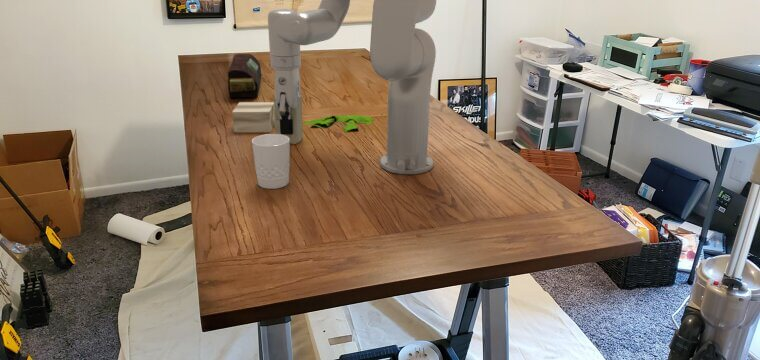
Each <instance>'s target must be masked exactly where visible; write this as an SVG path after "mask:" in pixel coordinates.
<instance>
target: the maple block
mask: <svg viewBox="0 0 760 360" xmlns="http://www.w3.org/2000/svg"><path fill="white" fill-rule="evenodd" d="M231 112H232V114H231V115H232V124H233V133H271V132H272V130H273V128H274V127H275V113H274V101H266V102H265V101H259V102H258V101H239V102H238V104H237V105H236V106H235V107H234V108H233V110H232V111H231Z"/></svg>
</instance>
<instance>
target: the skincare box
mask: <svg viewBox="0 0 760 360" xmlns="http://www.w3.org/2000/svg"><path fill="white" fill-rule="evenodd" d="M273 102H274V113H275V124H274V134H281V133H280V112H279V109H280V108H277V106H276V99H275V95H274V96H273ZM279 104H280V102H279ZM286 107H289V105H286ZM286 111H287V112H288V110H286ZM291 119H293V134H292V135H287V134H281V135H285V136H287V137H289V139H290V145H291V144H293V145H297V144H298V143H299V142H301V141H302V140H303V139H304V138H303V124H302V123H303V95H302V94H301V95H299V96H298V98H297V107H296V108H295V109H293V108H291Z"/></svg>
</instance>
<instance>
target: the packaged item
mask: <svg viewBox="0 0 760 360" xmlns="http://www.w3.org/2000/svg"><path fill="white" fill-rule="evenodd" d="M261 79H262V69H261V64H260V62H259V60H258V59H257V58H256V57H255V56H254V55H253V54H251V53H237V54H234V55H233V57H232V60H231V63H230V66H229V68H228V72H227V80H228V81H227V82H228V83H227V85H228V90H227V91H228V95H229V98H230V99H232V98H233V99H237V98H241V99H242V98H243V99H245V98H256V97H258V96H259V90H260V83H261Z"/></svg>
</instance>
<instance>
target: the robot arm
mask: <svg viewBox="0 0 760 360" xmlns="http://www.w3.org/2000/svg"><path fill="white" fill-rule="evenodd" d="M350 3H351V0H321V1H320V3H319V6H318V8H317V9H312V10H306V11H301V12H297V11H295V10H293V9H287V8H286V9H284V8H282V9H280V8H279V9H273V10H271V11H269V12H268V14H267V27H268V28H267V29H268V30H267V31H268V43H269V45H268V46H269V59H270V60H269V61H270V68H271V69H272V70H274V96H275V99H276V106H277V108H280V109H279V112H280V133H281V134H287V135H292V134H293V119H291V108H293V109H295V108H296V107H297V98H298V96H299V95H302V91H301V89H302V88H301V77H300V69H301V68H302V62H301V61H302V60H301V57H302V56H301V55H302V54H301V46H309V45H313V44H318V43H320V42H325V41H328V40H330V39H332V38H333V37H334V36H335V35H337V33H338V31H339V30H340V28H341V27H342V24H343V23H344V20H345V19H346V17H347V16H346V15H347V14H348V12H349V7H350ZM372 5H373V6H372V13H371V15H372V16H371V28H370V29H371V30H370V46H369V59H370V64H371V67H372V69H373V70H374V72H375V74H376V75H377V76H379V77H380V78H381V79H382V80H385V81H389V83H388V90H387V91H388V92H387V127H386V128H387V130H386V131H387V133H386V154H384V155H383V156H381V157H380V159H379V160H380V161H379V165H380V167H381V168H382V169H384V170H386V171H387V172H390V173H394V174H399V175H419V174H423V173H426V172H428V171H430V170H432V169H433V167H434V160H433V158H432V157H431V156H429V155H428V142H429V126H430V124H429V123H430V103H431V91H432V90H431V89H432V88H431V87H432V79H433V73H434V70H435V69H434V68H435V62H436V54H437V51H436V45H435V42H434V39H433V37H432V36H431V35H430V33H428V32H427V31H425V30H424V29H422V28H418V27H417V28H416V24H419V23H422V22H424V21H427V20H428V19H429V18H430V17H431V16H432V15H433V14H434V12H435V10H436V6H437V0H373V4H372ZM279 102H280V104H279ZM286 105H289V107H286ZM286 110H288V112H287V111H286Z"/></svg>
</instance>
